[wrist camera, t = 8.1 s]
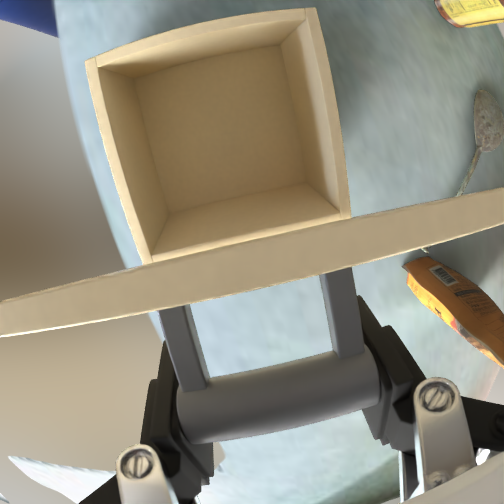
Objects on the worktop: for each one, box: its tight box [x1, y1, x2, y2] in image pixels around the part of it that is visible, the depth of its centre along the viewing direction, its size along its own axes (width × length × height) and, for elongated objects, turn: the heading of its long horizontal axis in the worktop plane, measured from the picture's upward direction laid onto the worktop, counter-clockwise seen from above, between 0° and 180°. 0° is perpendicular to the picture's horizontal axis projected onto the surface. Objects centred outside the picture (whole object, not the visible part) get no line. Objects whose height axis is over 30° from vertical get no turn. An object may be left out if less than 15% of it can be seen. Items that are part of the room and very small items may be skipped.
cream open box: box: [85, 8, 351, 265], centre depth 22 cm, size 15×15×10 cm
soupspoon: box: [421, 89, 504, 254], centre depth 29 cm, size 22×3×7 cm
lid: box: [0, 187, 504, 444], centre depth 13 cm, size 15×15×5 cm
